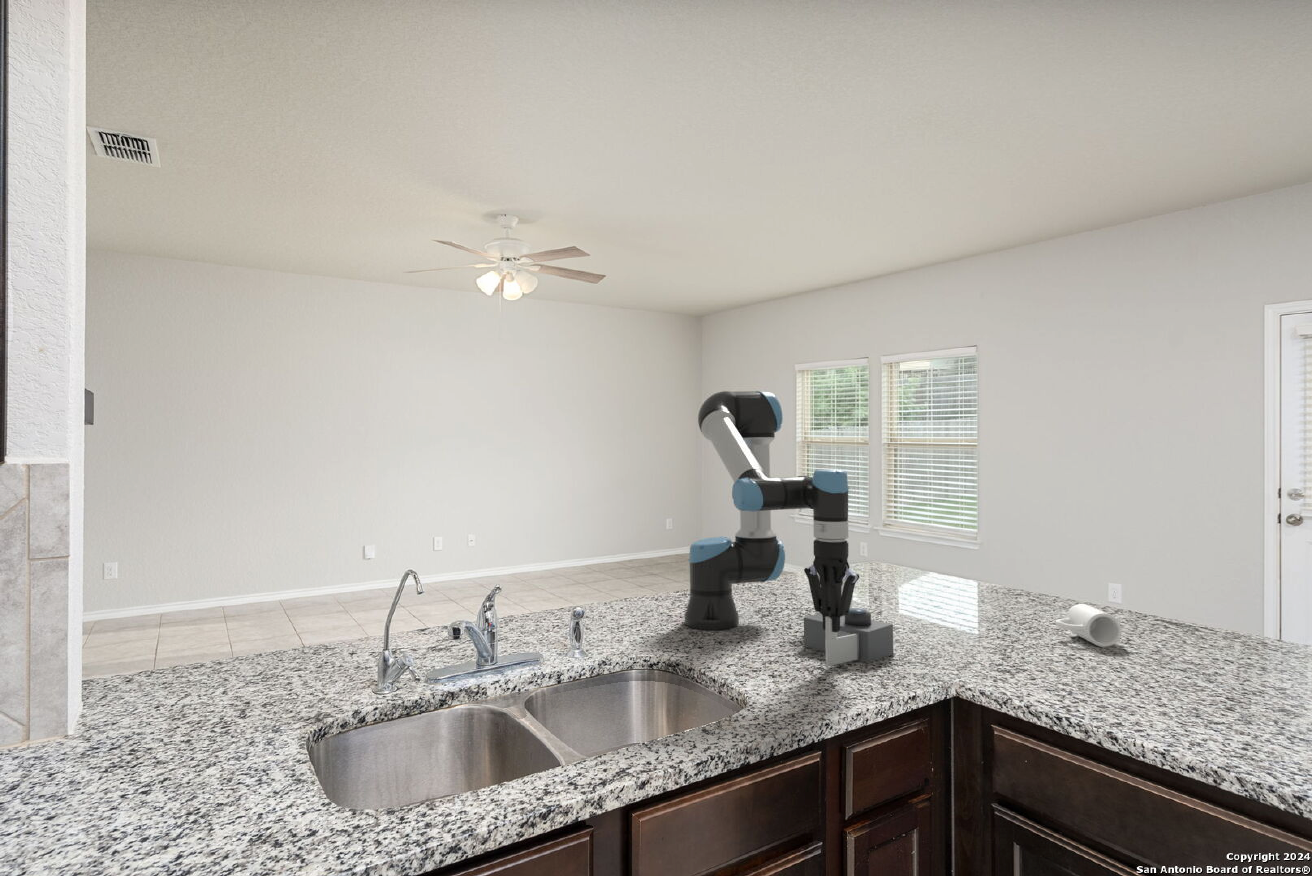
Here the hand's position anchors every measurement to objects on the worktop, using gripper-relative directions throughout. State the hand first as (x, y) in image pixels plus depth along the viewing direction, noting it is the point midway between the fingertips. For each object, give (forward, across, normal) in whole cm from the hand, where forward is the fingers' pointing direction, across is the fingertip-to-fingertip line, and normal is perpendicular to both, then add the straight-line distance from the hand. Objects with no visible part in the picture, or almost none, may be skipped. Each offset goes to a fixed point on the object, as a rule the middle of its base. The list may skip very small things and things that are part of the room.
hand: (831, 645), depth 149 cm
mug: (+4, +33, +59) cm, 68 cm away
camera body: (+5, -4, +12) cm, 14 cm away
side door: (+4, +2, +2) cm, 5 cm away
